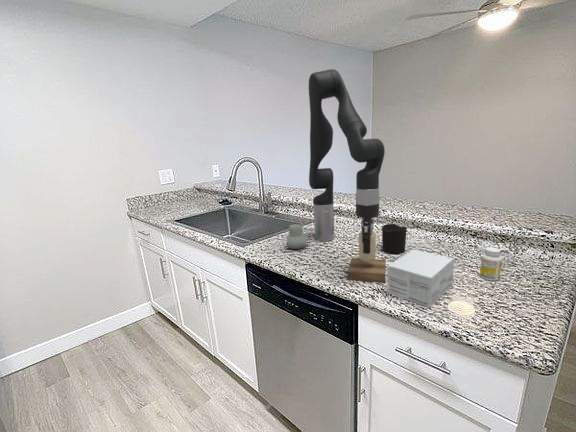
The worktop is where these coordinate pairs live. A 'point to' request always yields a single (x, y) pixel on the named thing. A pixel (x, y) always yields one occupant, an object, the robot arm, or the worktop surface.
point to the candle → (372, 248)
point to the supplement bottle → (491, 264)
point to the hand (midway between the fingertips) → (367, 249)
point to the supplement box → (420, 277)
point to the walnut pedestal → (367, 270)
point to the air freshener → (296, 237)
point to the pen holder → (393, 238)
